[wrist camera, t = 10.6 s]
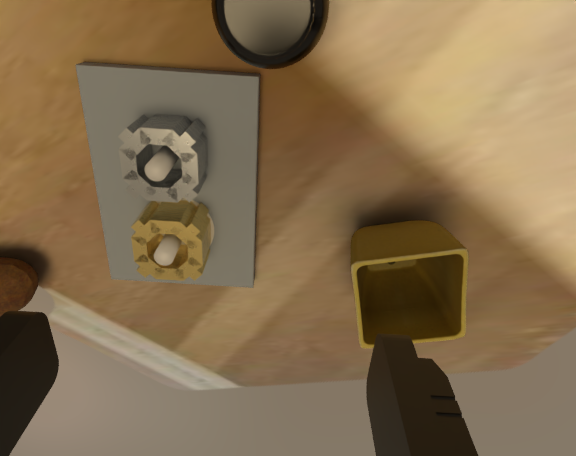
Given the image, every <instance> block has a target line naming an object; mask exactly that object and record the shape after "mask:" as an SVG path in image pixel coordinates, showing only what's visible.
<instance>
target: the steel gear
mask: <svg viewBox="0 0 576 456" xmlns="http://www.w3.org/2000/svg"><path fill="white" fill-rule="evenodd" d="M205 127H206V126H205V125H204V124H203V123H202V122H201V121H200V120H199V119H198V118H196V119H195V120H194V121H193V122H191V121H190V120H189V119H188V118H187V117H186V116H179V115H164V114H155V115H153V116H152V117H151V118H150V119H148V118H147V117H146V116H145V115H144V114H143V115H142V116H141V117H140V118H138V119H137V120H136V121H134V122H133V123H132V124H131V125H129V126H128V127H127V128H126V129H125V130H124V131H123V132H122V133H121V134H120V135H119V136H118V137H119V138H120V139H121V140H122V141H123V142H124V144H123V145H122V146H121V147H120V148H119V156H120V163H121V171H122V178H123V180H124V181H125V182H126V183H128V184H129V186H128V187H127V188H126V190H125V191H127V192H128V193H129V194H130V195H131V196H132V197H133V198H135V199H136V198H137V197H138V196H139V195H141V196H142V197H144V198H145V199H146V200H147V201H161V202H177V203H178V202H179V201H180V200H181V199H182V198H183V197H184V198H185V199H186V200H187V201H188V202H190V201H192V200H193V199H194V198H195V197H196V196H197V195H198V194H199V192H200V190H201V188H202V186H203V184H204V182H205V180H206V178H207V175H206V174H205V173H204V172H205V170H206V168H207V166H208V150H207V137H206V136H205V135H204V134H203V133H202V132H203V130H204V129H205ZM152 145H167V146H168V147H169V148H170V149H171V150H172V151H173V152H174V153H175V154H176V155H177V156H178V157H180V158H181V162H182V169H171V170H170V171H169V173H168V174H167V176H166V177H165V178H164V179H163V180H162V181H153V180H151V179H149V178H148V177H147V175H146V174H145V166H146V164H147V163H148V162H149V161H150V160H151V159H152V157H153V150H152Z"/></svg>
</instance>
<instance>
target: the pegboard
mask: <svg viewBox="0 0 576 456" xmlns="http://www.w3.org/2000/svg"><path fill="white" fill-rule="evenodd" d="M76 70H77V76H78V82H79V88H80V94H81V100H82V106H83V112H84V118H85V124H86V130H87V136H88V142H89V148H90V154H91V160H92V166H93V172H94V178H95V184H96V190H97V196H98V202H99V208H100V214H101V220H102V226H103V232H104V238H105V244H106V250H107V256H108V262H109V268H110V274H111V279H118V280H134V281H151V282H167V283H184V284H201V285H217V286H234V287H250V288H253V285H254V277H255V241H256V205H257V170H258V134H259V98H260V74H256V73H241V72H226V71H211V70H196V69H181V68H166V67H151V66H136V65H121V64H106V63H91V62H83V63H80V64H77V65H76ZM143 114H144V115H145V116H146V117H147V118H148V119H150V118H151V117H152V116H153V115H155V114H164V115H179V116H186V117H187V118H188V119H189V120H190V121H191V122H193V121H194V120H195V119H196V118H198V119H199V120H200V121H201V122H202V123H203V124H204V125H205V126H206V127H205V129H204V130H203V132H202V133H203V134H204V135H205V136H206V137H207V150H208V166H207V168H206V170H205V172H204V173H205V174H206V175H207V178H206V180H205V182H204V184H203V186H202V188H201V190H200V192H199V194H198V195H197V196H196V197H195V198H194V199H193V200H192V201H191V202H193V203H194V204H195V205H196V206H197V205H199V204H200V203H203V204H204V205H205V206H206V207H207V208H208V209H209V212H208V214H207V216H208V217H209V218H210V223H211V243H210V246H209V249H210V253H209V256H208V259H207V262H206V265H205V268H204V271H203V274H202V275H201V276H200V277H199V278H197V279H196V280H195V281H194V280H193V279H192V278H190V277H188V278H187V279H185V280H184V281H178V280H162V279H155V278H154V277H153V276H152V275H150V274H149V275H148V276H147V277H146V278H145V277H144V276H142V275H141V274H140V273H139V272H137V271H136V270H137V269H138V267H139V265H138V264H137V263H136V262H134V255H133V248H132V240H131V236H132V235H133V233H134V232H135V230H133V229H132V228H131V226H132V225H133V223H134V222H135V220H136V219H137V218H138V216H139V215H140V213H141V212H142V211H143V209H144V208H145V206H146V205H147V204H148V203H150V202H151V201H147V200H146V199H145V198H144V197H142V196H141V195H139V196H138V197H137V198H136V199H135V198H133V197H132V196H131V195H130V194H129V193H128V192H127V191H125V190H126V188H127V187H128V186H129V184H128V183H126V182H125V181H124V180H123V178H122V171H121V163H120V156H119V148H120V147H121V146H122V145H123V144H124V142H123V141H122V140H121V139H120V138H119V137H118V136H119V135H120V134H121V133H122V132H123V131H124V130H125V129H126V128H127V127H128V126H129V125H131V124H132V123H133V122H134V121H136V120H137V119H138V118H140V117H141V116H142V115H143ZM152 150H153V157H152V159H151V160H150V161H149V162H148V163H147V164H146V166H145V174H146V175H147V177H148V178H149V179H151V180H153V181H162V180H163V179H164V178H165V177H166V176H167V174H168V173H169V171H170V170H171V169H182V162H181V158H180V157H178V156H177V155H176V154H175V153H174V152H173V151H172V150H171V149H170V148H169V147H168V146H167V145H152ZM181 200H186V199H185V198H184V197H183V198H182V199H181ZM186 201H187V200H186ZM156 202H157V203H158V204H159V203H160V202H161V201H156ZM162 235H163V236H164V237H163V239H162V240H161V242H160V244H159V246H158V248H157V250H156V251H155V253H154V259H155V261H156V262H157V263H158V264H160V265H163V266H167V265H170V264H171V263H172V262H173V260H174V258H175V256H176V254H177V251H178V249H179V247H180V245H186V244H185V243H184V242H183V241H181V240H180V239H179V238H178V237H177V236H176V235H175V234H162Z"/></svg>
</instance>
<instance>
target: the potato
mask: <svg viewBox="0 0 576 456" xmlns="http://www.w3.org/2000/svg"><path fill="white" fill-rule="evenodd" d="M37 287H38V275H37V273H36V271H35V270H34V269H33V268H32V266H30V265H29V264H27V263H25V262H24V261H22V260H18V259H13V258H4V257H0V317H1V316H2V315H3V314H4V313H5V312H7V311H18V310H20V309H21V308H23V307H25V306H26V305H27V304H28V303H29V301H30V300H31V299H32V297H33V295H34V294H35V291H36V289H37Z"/></svg>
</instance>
